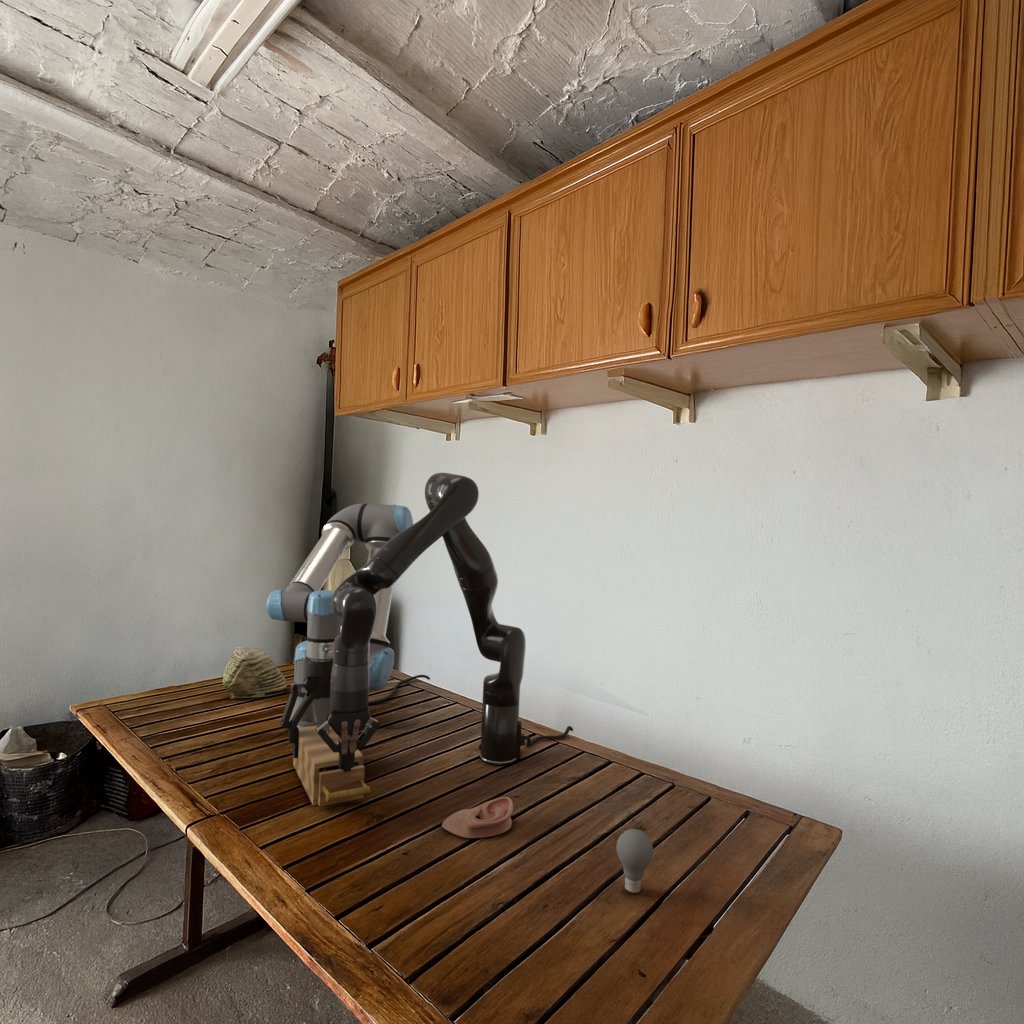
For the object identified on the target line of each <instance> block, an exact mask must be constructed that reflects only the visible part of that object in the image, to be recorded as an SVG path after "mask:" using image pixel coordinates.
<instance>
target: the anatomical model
mask: <svg viewBox="0 0 1024 1024" xmlns="http://www.w3.org/2000/svg"><path fill="white" fill-rule="evenodd" d="M513 812H514V803H513V800H512V799H511V798H510V797H508V796H501V797H497V798H493V799H491V800H487V801H485V802H483V803H481V804H479V805H477V806H474V807H472V808H464V809H461V810H458V811H456V812H454V813H452V814H451V815H449V816H448V817H447V818H445V819H444V820H443V822H442V824H441V827H442V828H443V829H444V830H445V831H447V832H448V833H451V834H453V835H455V836H458V837H460V838H465V839H480V838H481V839H482V838H488V837H495V836H498V835H501V834H503V833H505V832H507V831H509V830H510V829H511V828H512V825H513V821H512V818H511V816H512V814H513Z"/></svg>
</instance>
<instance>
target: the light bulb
mask: <svg viewBox="0 0 1024 1024" xmlns="http://www.w3.org/2000/svg"><path fill="white" fill-rule="evenodd" d="M615 849H616V854H617V857H618V859H619V861H620V863H621V865H622V867H623V873H624V874H623V875H624V876H625V878H624V888H625V890H627V891H628V892H630V893H634V894H635V893H639V892H640V891H641V889H642V887H641V886H642V879H643V877H644V875H645V871H646V868H647V867H648V866H649V864H650V863H651V861H652V859H653V855H654V847H653V843H652V841H651V838H649V836H648V835H647V834H646V833H645V832H643V831H642V830H641V829H636V828H629V829H627V830H625V831H623V832H622V833H621V834H620V835H619V837H618V839H617V841H616V847H615Z"/></svg>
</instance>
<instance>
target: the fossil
mask: <svg viewBox="0 0 1024 1024" xmlns="http://www.w3.org/2000/svg"><path fill="white" fill-rule="evenodd" d="M222 676H223V677H222V685H223V687H224V688H225V690H226V691H228V693H229V698H230V699H250V698H264V697H271V696H275V695H281V694H284V693H285V691H286V689H287V687H288V686H287V680H286V678H285V676H284V674H283V673H282V672H281V669H279V668H278V667H277V665H276V663H275V662H274V660H273V659H272V658H271V657H270V656H269V655H268V654H267V653H266V652H265V650H264V649H263V648H260V647H258V648H251V647H247V646H246V647H245V646H238V647H237V648H236V649H235V650H233V651H232V653H231V656H230V657H229V659H228V660H227V663H226V666H225V668H224V671H223V675H222Z"/></svg>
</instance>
